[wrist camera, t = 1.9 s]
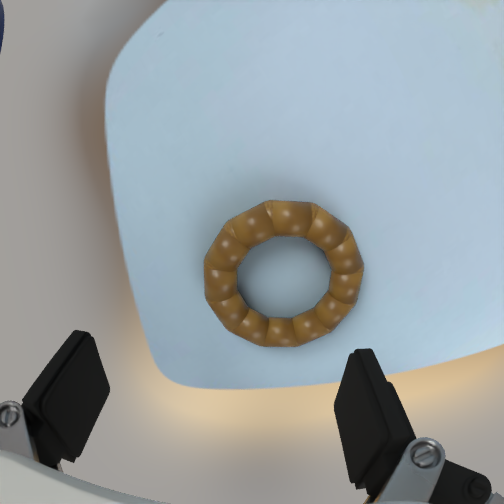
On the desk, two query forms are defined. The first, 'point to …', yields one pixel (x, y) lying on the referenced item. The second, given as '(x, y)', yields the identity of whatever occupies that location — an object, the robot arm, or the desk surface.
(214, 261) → the ring
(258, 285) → the desk surface
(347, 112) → the desk surface
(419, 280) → the desk surface
